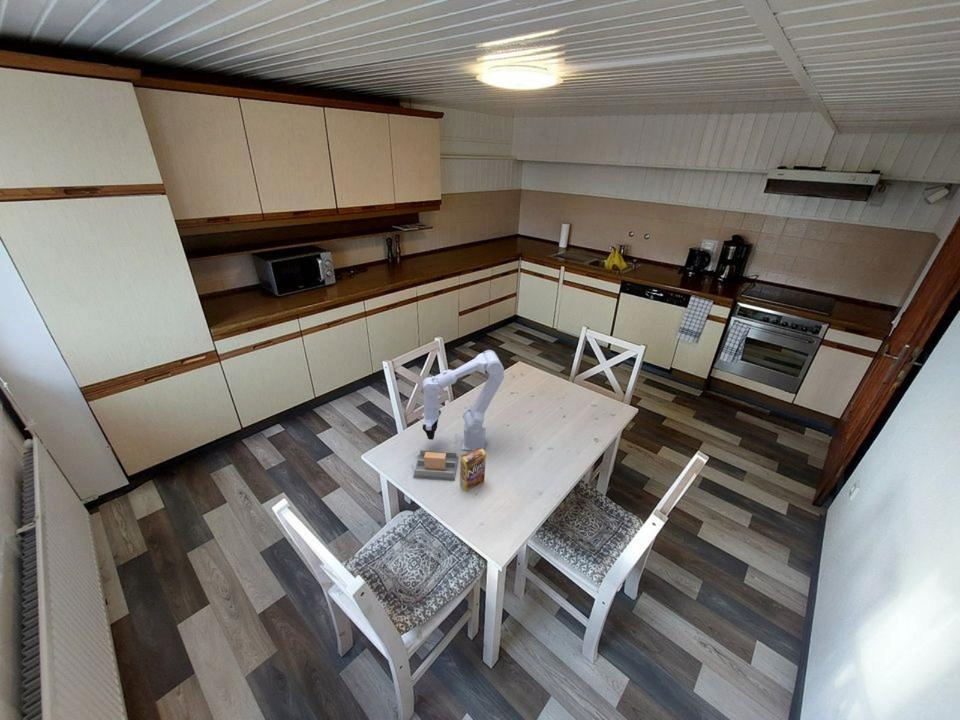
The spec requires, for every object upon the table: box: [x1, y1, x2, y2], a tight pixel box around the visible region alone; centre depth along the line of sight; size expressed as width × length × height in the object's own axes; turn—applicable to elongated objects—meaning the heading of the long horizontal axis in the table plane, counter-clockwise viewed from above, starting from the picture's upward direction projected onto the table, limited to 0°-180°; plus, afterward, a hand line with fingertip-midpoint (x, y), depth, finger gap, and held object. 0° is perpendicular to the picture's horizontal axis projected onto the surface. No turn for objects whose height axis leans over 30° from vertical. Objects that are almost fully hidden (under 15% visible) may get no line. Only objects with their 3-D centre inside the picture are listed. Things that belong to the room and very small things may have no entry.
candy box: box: [459, 447, 487, 492], centre depth 144 cm, size 9×4×15 cm, turn 123°
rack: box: [412, 449, 459, 481], centre depth 154 cm, size 16×12×4 cm
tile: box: [424, 452, 447, 471], centre depth 150 cm, size 8×3×8 cm, turn 86°
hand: (432, 432), depth 159 cm, fingers open, 7 cm apart
